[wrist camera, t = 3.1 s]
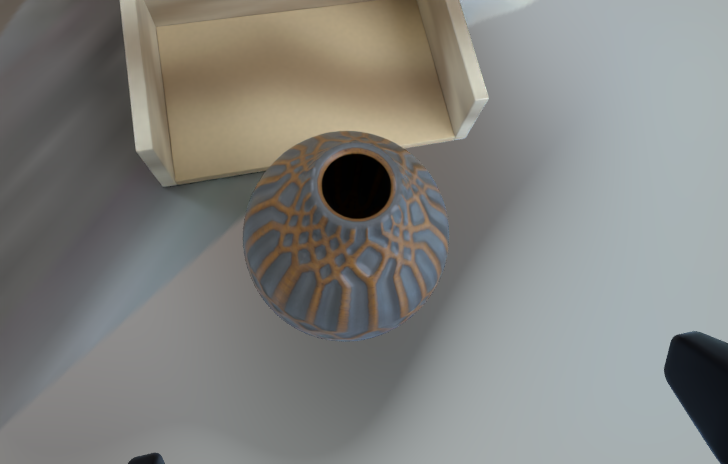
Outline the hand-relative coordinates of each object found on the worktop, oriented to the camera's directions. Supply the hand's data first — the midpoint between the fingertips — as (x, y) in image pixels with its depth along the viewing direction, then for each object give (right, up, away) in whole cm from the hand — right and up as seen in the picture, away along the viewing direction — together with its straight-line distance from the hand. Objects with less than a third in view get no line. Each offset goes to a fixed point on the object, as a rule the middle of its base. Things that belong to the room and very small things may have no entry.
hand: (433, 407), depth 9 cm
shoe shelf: (-4, +10, +15) cm, 19 cm away
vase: (-2, +2, +13) cm, 13 cm away
